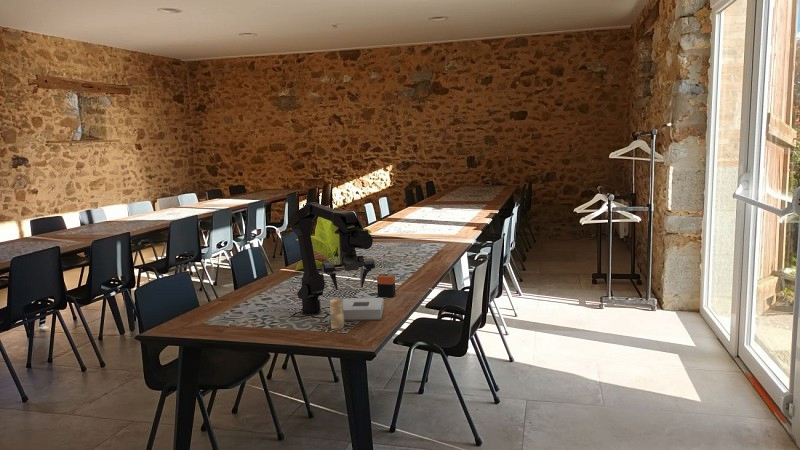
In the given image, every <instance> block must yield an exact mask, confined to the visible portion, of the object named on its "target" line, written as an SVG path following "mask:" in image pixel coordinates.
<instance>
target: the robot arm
mask: <svg viewBox="0 0 800 450" xmlns="http://www.w3.org/2000/svg"><path fill="white" fill-rule="evenodd" d="M318 217H321V218H324V219H326V220H329V221H331V222H332V223H333V225H334V226H336V227H337V228H338V229H337V230H336V231H335V234H339V251H340V264H337V263H336V264H334V263H333V262H332V261H331V262H329V261H328V262H322V265H321V272H322V273H320V272H319V271H318V269H317V267H316V262H315V260H316V257H315V251H314V250H313V246H312V240H311V236H312V235H311V233H312V230H313V227H314V222H313V221H314V220H315V219H316V218H318ZM289 224H290V227H291V229H292V231H293V232H294V233H295V235H296V236H297V239H298V240H297V241H298V245H299V251H300V257H301V261H302V263H303V275H302V277H301V287H300V288H299V290H298V291H297V293H296V294H297V297H298V299H299V300H301V307H302V312H301V315H319V314H320V312H321V310H322V299H320V296H321V297H322V296H323V295H324V291H325V285H326V282H325V276H324V274H326V275H327V276H329V277H330V278H331V280H332V283H333V286H334V289H335V291H338V282H337V273H336V271H335V269H338V270H345V271H346V272H351V271H359V270H360V273H359V275H360V277H359V279H360V280H359V281H360V282H359V283H360V288H363V287H364V284H365V281H366V277H367V275H368V274H369V272H371V271H372V269H373V270H374V269H376V263H375V260H373V259H372V258H365V257H364V255H358V254H357V255H356V253H357V249H360V250H369V249H371V248H372V246H373V242H374V239H373V237H372V235H371V233H370V234H369V233H368V230H369V229H368V230H363V228H364V227H363V226H362V223H361V222H360V220H359V218H358V216H357V215H356V212H355V211H353V210H352V211H351V210H338V209H335V208H332V207H329V206H326V205H323V204H320V203H319V202H315V201H314V202H308V203H306V204H305V205H303V207H301V208H299V209H298V210H296V211H295V212H292V213H291V215H290V217H289ZM354 226H355V227H354ZM350 227H351V228H350Z"/></svg>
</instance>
